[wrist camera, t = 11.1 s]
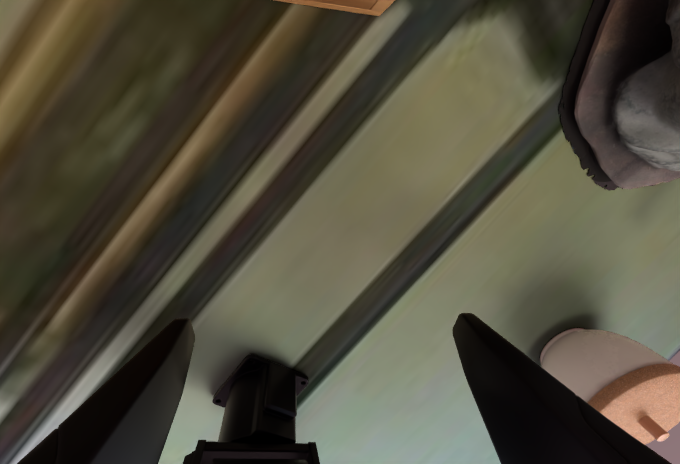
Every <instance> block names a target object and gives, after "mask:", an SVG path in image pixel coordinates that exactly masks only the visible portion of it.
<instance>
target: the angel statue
mask: <svg viewBox="0 0 680 464" xmlns="http://www.w3.org/2000/svg"><path fill="white" fill-rule="evenodd" d="M569 69H570V72H569V73H568V76H567V80H568V81H567V82H566V84H564V86H563V88H564V89H563V95H564V97H563V98H562V100H561V102H562V103H561V104H560V106H559V114H560V113H561V124H562V125H563V127H564V130H563V132H564V133H565V136H566V140H568V142H569V141H571V145H572V147H573V149H574V148H575V151H574V153H575V154H577V155H578V157H580V161H581V164H582V168H583V170H584V169H587V168H589V169H590V170H589V174H588V176H592V175H594V174H595V177H594V178H593V180H594V181H595V183H596V184H598V185H599V186H601V187H602V188H603V186H605V185H607V187H605V188H606V189H608V190H615V189H616V188H617V187H618V188H619V187H622V189H623V188H624V189H633V188H639V187H643V186H650V185H656V184H659V183H662V182H670V181H672V180H674V179H678V178H680V0H594V2H593V5H592V7H591V10H590V13H589V15H588V19H587V21H586V23H585V25H584V28H583V30H582V34H581V40H580V42H579V44H578V48H577V52H576V53H575V55H574V58H573V60H572V64H571V66H570V68H569ZM563 103H564V105H565V107H564V108H562V106H561V105H562V104H563ZM564 116H565V117H564ZM563 119H564V120H563Z"/></svg>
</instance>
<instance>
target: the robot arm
mask: <svg viewBox="0 0 680 464" xmlns="http://www.w3.org/2000/svg"><path fill="white" fill-rule="evenodd" d="M453 337H454V340H455V343H456V347H457V350H458V353H459V357H460V360H461V363H462V367H463V370H464V373H465V376H466V379H467V382H468V384H469V387H470V389H471V391H472V394H473V396H474V399H475V401H476V404H477V406H478V408H479V411H480V413H481V416H482V418H483V421H484V423H485V426H486V428H487V430H488V433H489V435H490V438H491V440H492V443H493V445H494V447H495V450H496V452H497V455H498V457H499V460H500V462H501V464H671V463H670V462H668V461H667V460H666V459H664V458H663V457H661V456H660V455H658V454H657V453H656V452H654V451H653V450H651V449H650V448H648V447H647V446H646V445H644V444H643V443H641V442H640V441H638V440H637V439H636V438H634V437H633V436H631V435H630V434H629V433H627V432H626V431H624V430H623V429H622V428H620V427H619V426H617V425H616V424H615V423H613V422H612V421H610V420H609V419H608V418H606V417H605V416H604V415H603V414H601V413H600V412H599V411H597V410H596V409H595V408H593V407H592V406H591V405H589V404H588V403H587V402H586V401H584V400H583V399H582V398H580V397H579V396H578V395H575V393H574V392H573V391H571V390H570V389H569V388H567V387H566V386H565V385H564V384H562V383H561V382H560V381H558V380H557V379H556V378H555V377H553V376H552V375H551V374H549V373H548V372H547V371H546V370H544V369H543V368H542V367H540V366H539V365H538V364H537V363H535V362H534V361H533V360H532V359H530V358H529V357H528V356H526V355H525V354H524V353H523V352H521V351H520V350H519V349H517V348H516V347H515V346H514V345H512V344H511V343H510V342H508V341H507V340H506V339H505V338H503V337H502V336H501V335H499V334H498V333H497V332H496V331H494V330H493V329H492V328H490V327H489V326H488V325H487V324H485V323H484V322H483V321H481V320H480V319H479V318H478V317H476V316H475V315H474V314H472V313H461V314H460V315H459V316H458V318H457V320H456V323H455V325H454V327H453ZM194 342H195V334H194V331H193V327H192V323H191V320H190V319H188V318H178V319H175V320H173V321H172V322H171V323H170V324H169V325H168V326H167V327H165V328H164V329H163V330H162V331H161V332H160V333H159V334H158V335H157V336H156V337H155V338H154V339H152V340H151V341H150V342H149V343H148V344H147V345H146V346H145V347H144V348H143V349H142V350H141V351H139V352H138V353H137V354H136V355H135V356H134V357H133V358H132V359H131V360H130V361H129V362H127V363H126V364H125V365H124V366H123V367H122V368H121V369H120V370H119V371H118V372H117V373H116V374H114V375H113V376H112V377H111V378H110V379H109V380H108V381H107V382H106V383H105V384H104V385H103V386H101V387H100V388H99V389H98V390H97V391H96V392H95V393H94V394H93V395H92V396H91V397H90V398H88V399H87V400H86V401H85V402H84V403H83V404H82V405H81V406H80V407H79V408H78V409H77V410H75V411H74V412H73V413H72V414H71V415H70V416H69V417H68V418H67V419H66V420H65V421H63V422H62V423H61V424H60V425H59V427H58V429H55V430H54V431H52V432H51V433H50V434H49V435H48V436H47V437H46V438H45V439H44V440H43V441H42V442H41V443H39V444H38V445H37V446H36V447H35V448H34V449H33V450H32V451H31V452H29V453H28V454H27V455H26V456H25V457H24V458H23V459H22V460H20V461H19V462H18V463H17V464H158V462H159V459H160V456H161V453H162V450H163V448H164V445H165V442H166V439H167V436H168V433H169V430H170V428H171V425H172V422H173V419H174V416H175V413H176V410H177V408H178V405H179V402H180V399H181V396H182V393H183V389H184V385H185V381H186V377H187V372H188V368H189V364H190V359H191V355H192V351H193V347H194ZM307 384H308V377H307V376H305V375H303V374H300V373H298V372H295V371H293V370H291V369H288V368H286V367H283V366H281V365H279V364H276V363H274V362H271V361H269V360H267V359H264V358H262V357H259V356H257V355H254V354H250V355H248V356H247V357H246V358H245V359H244V360H243V361H242V363H241V364H240V365H239V366H238V367H237V369H236V370H235V371H234V372H233V373H232V375H231V376H230V377H229V378H228V379H227V381H226V382H225V383H224V384H223V386H222V387H221V388H220V389H219V390H218V392H217V393H216V394H215V395H214V398H213V403H214V404H216V405H219V406H222V407H225V412H224V416H223V421H222V426H221V430H220V435H219V440H218V442H206V440H198V443H197V447H196V450H195V451H193V452H192V453H191V454H189V455H187V456H185V458H184V462H183V464H320V462H319V457H318V452H317V447H316V443H315V442H308V444H303V443H295V442H296V433H295V417H296V415H297V407H296V396H297V395H298V394H299V393H300V392H301V391H302V390H303V389H304V388H305V387H306V386H307Z"/></svg>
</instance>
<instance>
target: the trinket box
mask: <svg viewBox="0 0 680 464" xmlns="http://www.w3.org/2000/svg"><path fill="white" fill-rule="evenodd" d="M540 362H541V364H542V368H543V369H544V370H546V371H547V372H548V373H549V374H551V375H552V376H553V377H555V378H556V379H557V380H558V381H560V382H561V383H562V384H564V385H565V386H566V387H567V388H569V389H570V390H571V391H573V392H574V393H575V395H578V396H579V397H580V398H582V399H583V400H584V401H586V402H587V403H588V404H589V405H591V406H592V407H593V408H595V409H596V410H597V411H599V412H600V413H601V414H603V415H604V416H605V417H606V418H608V419H609V420H610V421H612V422H613V423H615V424H616V425H617V426H619V427H620V428H622V429H623V430H624V431H626V432H627V433H629V434H630V435H631V436H633V437H634V438H636V439H637V440H638V441H640V442H641V443H643V444H644V445H645V444H647V443H650V442H651V441H653V440H655V439H656V440H657V441H663V440H665V439H667V437H669V433H668V432H667V431H668V430H670V429H671V428H673V427H674V426H675V425H676V424H677V423H679V422H680V367H679V366H677V365H674V364H673V363H671V362H670V361H668V360H667V359H665V358H664V357H662V356H661V355H659V354H657V353H656V352H654V351H653V350H651V349H650V348H648V347H646V346H644V345H642V344H640V343H639V342H637V341H634V340H632V339H630V338H628V337H625V336H622V335H619V334H616V333H613V332H609V331H604V330H586V329H583V328H574V329H569V330H566V331H564V332H562V333H560V334H558V335H557V336H555V337H554V338H553V339H551V340H550V341H549V342H548V343H547V344H546V346H545V347H544V349H543V350H542V352H541V356H540Z"/></svg>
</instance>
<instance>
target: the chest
mask: <svg viewBox="0 0 680 464" xmlns="http://www.w3.org/2000/svg"><path fill="white" fill-rule="evenodd" d="M275 1H281V2H288V3H295V4H301V5H308V6H315V7H321V8H328V9H335V10H341V11H348V12H355V13H361V14H368V15H375V16H380V15H381V14H382V13H383V12H384V11H385V10H386V9H387V8H388V7H389V6H390V5H391V4H392V3H393V2H394V1H395V0H275Z"/></svg>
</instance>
